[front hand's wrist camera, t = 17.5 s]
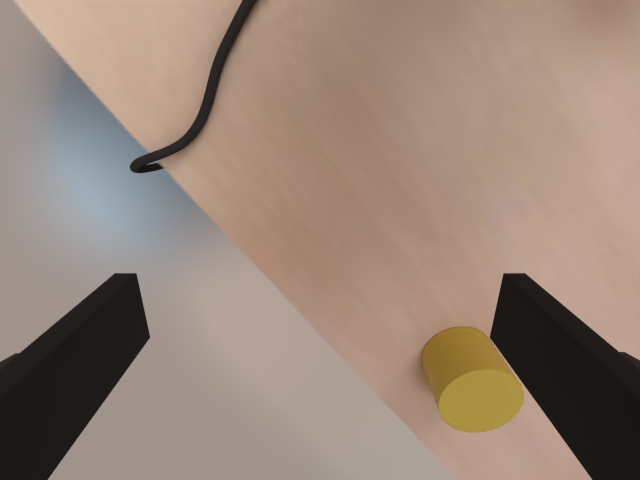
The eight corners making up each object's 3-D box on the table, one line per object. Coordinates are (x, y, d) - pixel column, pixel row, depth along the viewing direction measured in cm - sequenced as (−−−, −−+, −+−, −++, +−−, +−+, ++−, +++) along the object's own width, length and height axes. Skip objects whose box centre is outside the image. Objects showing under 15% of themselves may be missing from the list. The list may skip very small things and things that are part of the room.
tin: (501, 369, 45) (533, 417, 38) (435, 392, 46) (453, 442, 40) (481, 316, 42) (511, 357, 35) (411, 342, 43) (426, 387, 37)
